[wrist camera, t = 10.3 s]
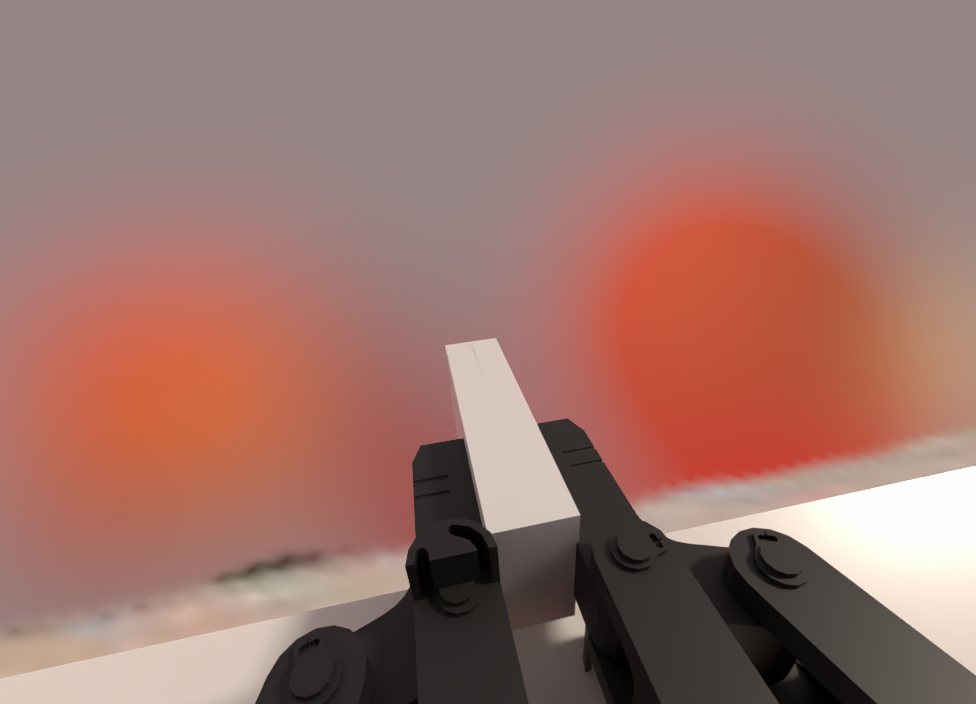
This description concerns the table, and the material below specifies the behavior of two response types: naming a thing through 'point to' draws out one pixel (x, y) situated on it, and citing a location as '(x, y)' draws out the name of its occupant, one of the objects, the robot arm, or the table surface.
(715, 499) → the table surface
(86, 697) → the cover
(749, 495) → the table surface
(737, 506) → the table surface
